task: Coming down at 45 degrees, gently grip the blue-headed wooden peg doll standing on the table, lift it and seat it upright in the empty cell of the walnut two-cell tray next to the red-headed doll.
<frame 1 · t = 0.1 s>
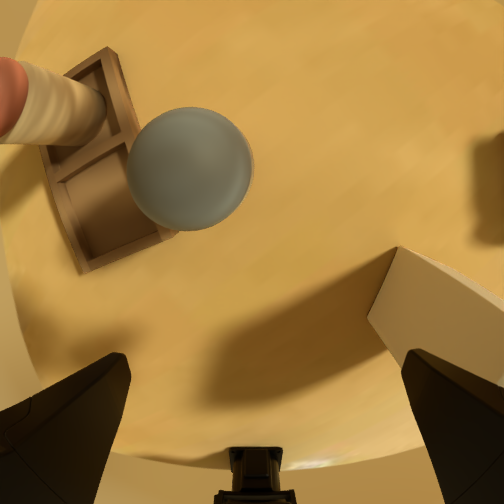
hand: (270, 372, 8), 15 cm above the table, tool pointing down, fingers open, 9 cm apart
red peg doll: (81, 116, 18), point 1 cm above the table, touching doll tray
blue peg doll: (218, 169, 20), on the table
doll tray: (98, 158, 20), on the table
milk carton: (410, 291, 23), on the table
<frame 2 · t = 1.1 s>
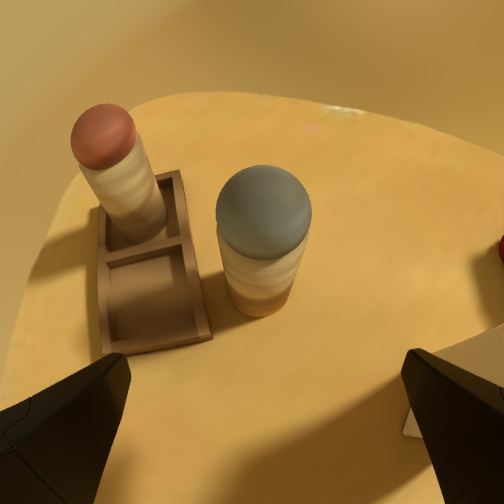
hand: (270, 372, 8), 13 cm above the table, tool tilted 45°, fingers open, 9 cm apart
red peg doll: (143, 220, 26), point 1 cm above the table, touching doll tray
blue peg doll: (258, 287, 23), on the table
doll tray: (148, 259, 25), on the table
milk carton: (441, 401, 18), on the table
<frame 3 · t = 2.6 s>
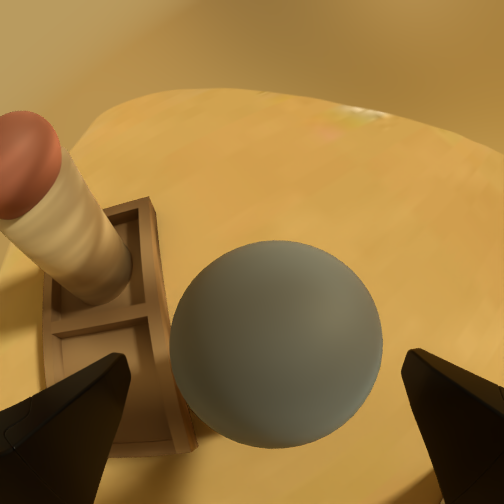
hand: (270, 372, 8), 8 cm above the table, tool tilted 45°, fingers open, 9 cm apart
red peg doll: (100, 270, 18), point 1 cm above the table, touching doll tray
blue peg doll: (261, 377, 15), on the table
doll tray: (108, 328, 16), on the table
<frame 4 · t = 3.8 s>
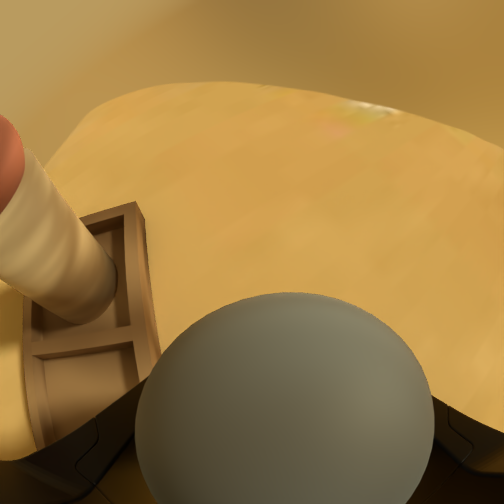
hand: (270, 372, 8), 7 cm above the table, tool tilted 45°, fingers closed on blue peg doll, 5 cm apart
red peg doll: (83, 285, 15), point 1 cm above the table, touching doll tray
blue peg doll: (262, 407, 13), on the table, touching gripper
doll tray: (93, 349, 14), on the table
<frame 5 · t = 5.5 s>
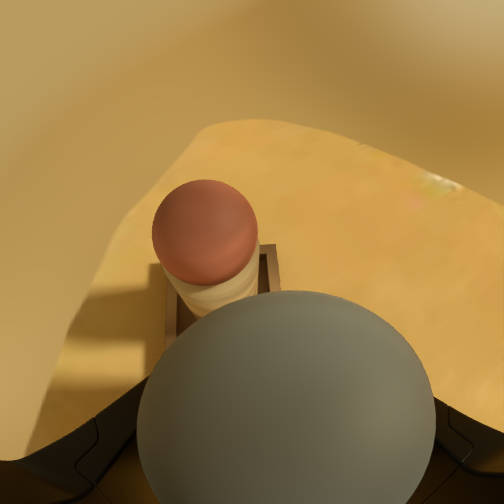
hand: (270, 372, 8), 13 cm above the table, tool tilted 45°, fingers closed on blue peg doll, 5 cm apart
red peg doll: (224, 303, 22), point 1 cm above the table, touching doll tray
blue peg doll: (262, 407, 13), point 7 cm above the table, touching gripper
doll tray: (227, 354, 21), on the table
when the fingers open (8 cm above the table, at t = 7.2 s): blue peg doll drops 1 cm, resting on doll tray.
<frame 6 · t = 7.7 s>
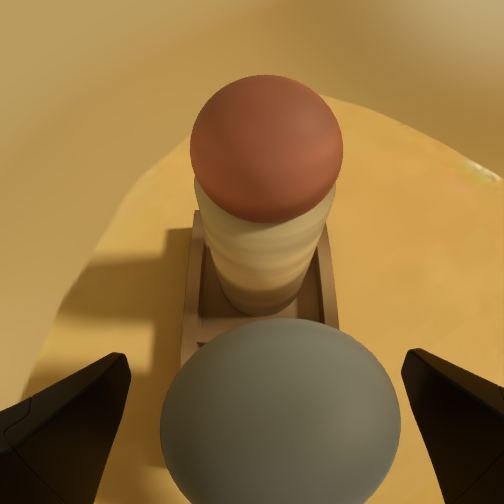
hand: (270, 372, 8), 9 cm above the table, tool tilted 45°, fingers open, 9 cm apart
red peg doll: (260, 277, 18), point 1 cm above the table, touching doll tray
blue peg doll: (262, 407, 14), point 1 cm above the table, touching doll tray
doll tray: (260, 342, 17), on the table
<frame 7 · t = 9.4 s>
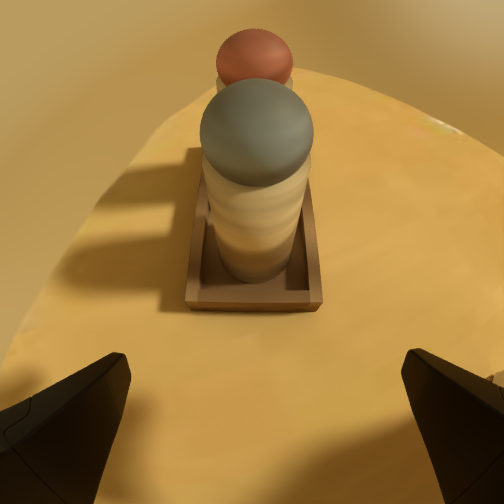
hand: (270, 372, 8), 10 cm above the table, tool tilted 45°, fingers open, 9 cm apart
red peg doll: (254, 170, 24), point 1 cm above the table, touching doll tray
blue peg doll: (254, 250, 21), point 1 cm above the table, touching doll tray
doll tray: (254, 212, 23), on the table
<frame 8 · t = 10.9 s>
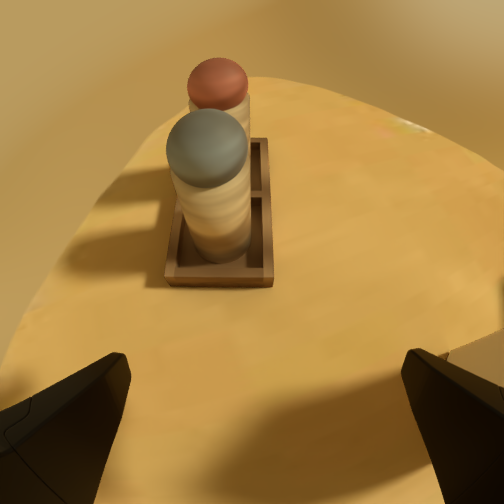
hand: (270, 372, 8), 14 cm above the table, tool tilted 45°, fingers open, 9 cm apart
red peg doll: (226, 172, 29), point 1 cm above the table, touching doll tray
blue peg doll: (222, 237, 25), point 1 cm above the table, touching doll tray
doll tray: (224, 207, 28), on the table
milk carton: (457, 399, 18), on the table
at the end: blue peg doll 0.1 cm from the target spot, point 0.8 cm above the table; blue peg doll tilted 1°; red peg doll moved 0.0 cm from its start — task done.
